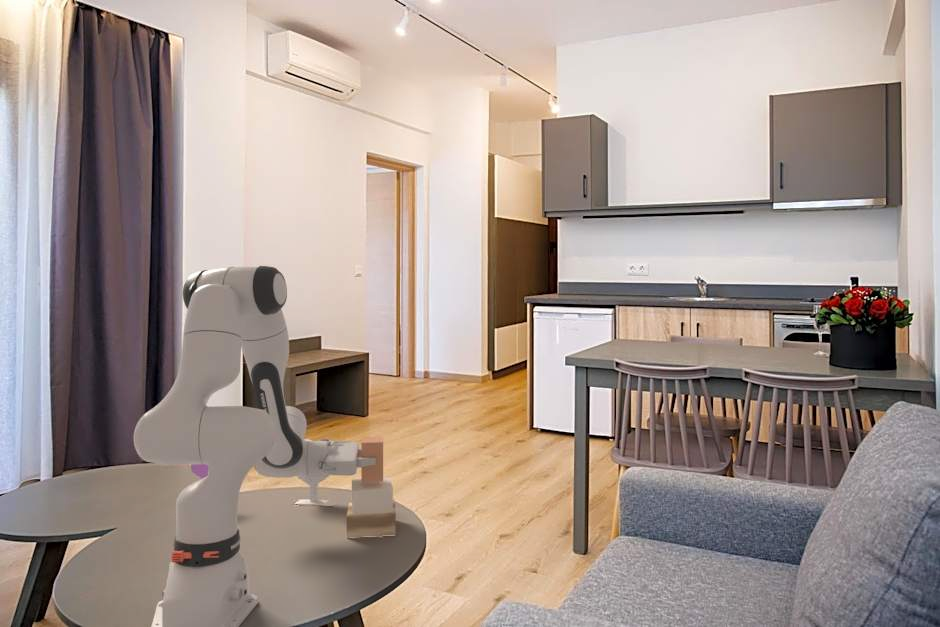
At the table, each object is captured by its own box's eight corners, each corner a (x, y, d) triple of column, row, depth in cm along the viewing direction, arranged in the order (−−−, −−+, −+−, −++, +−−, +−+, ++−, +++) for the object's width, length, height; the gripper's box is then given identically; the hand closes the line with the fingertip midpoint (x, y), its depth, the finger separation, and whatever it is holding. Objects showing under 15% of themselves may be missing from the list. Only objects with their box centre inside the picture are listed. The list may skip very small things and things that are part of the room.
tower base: (395, 538, 172) (395, 514, 172) (346, 540, 171) (346, 516, 170) (395, 521, 184) (395, 499, 184) (349, 523, 183) (349, 500, 182)
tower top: (392, 512, 173) (392, 488, 173) (352, 514, 171) (352, 490, 171) (390, 500, 183) (390, 477, 183) (351, 502, 181) (351, 479, 181)
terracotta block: (383, 481, 174) (383, 442, 174) (361, 482, 174) (361, 442, 173) (383, 475, 180) (383, 437, 179) (362, 476, 179) (362, 437, 179)
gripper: (316, 456, 164) (375, 455, 166) (324, 437, 185) (376, 436, 186) (316, 483, 165) (375, 481, 166) (324, 460, 185) (376, 459, 187)
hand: (376, 457), depth 177 cm, fingers closed on terracotta block, 5 cm apart
